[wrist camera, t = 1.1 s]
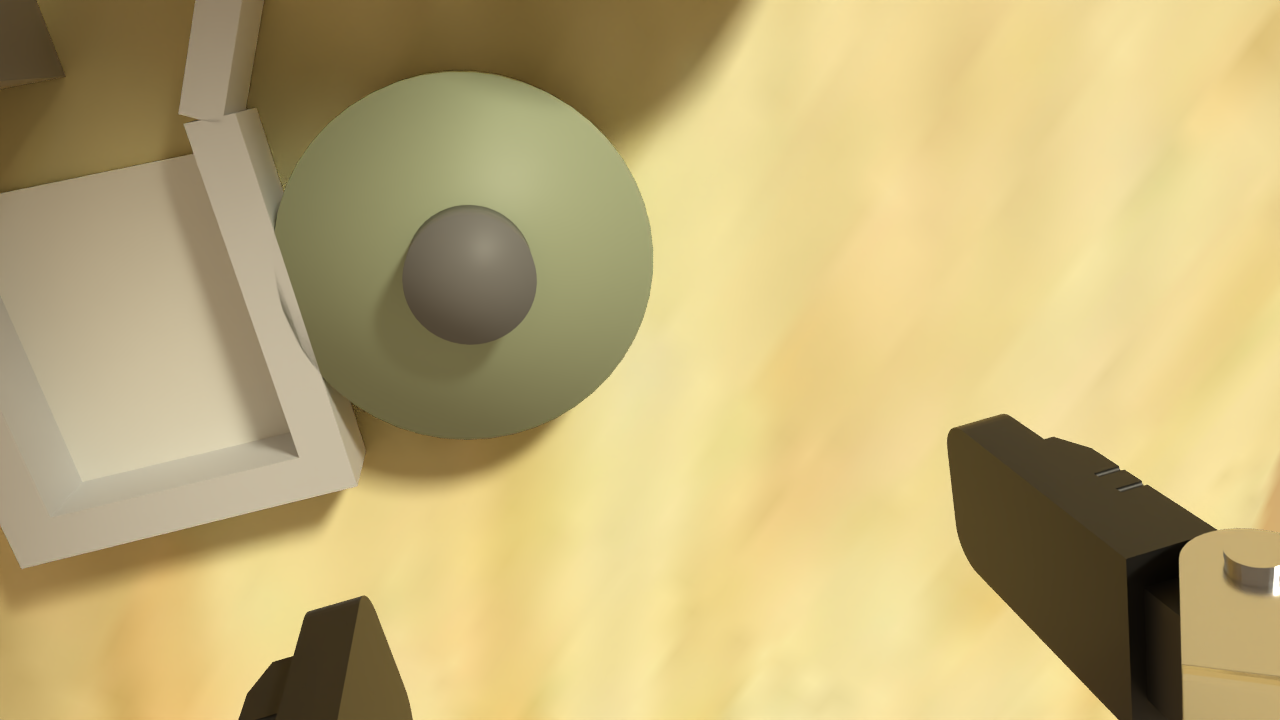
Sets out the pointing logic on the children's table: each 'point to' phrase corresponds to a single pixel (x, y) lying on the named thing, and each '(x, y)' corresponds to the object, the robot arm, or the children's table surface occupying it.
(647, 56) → the children's table surface
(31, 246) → the grey bracket and lid
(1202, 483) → the children's table surface
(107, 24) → the children's table surface
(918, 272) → the children's table surface
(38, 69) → the orange-panel grey block
